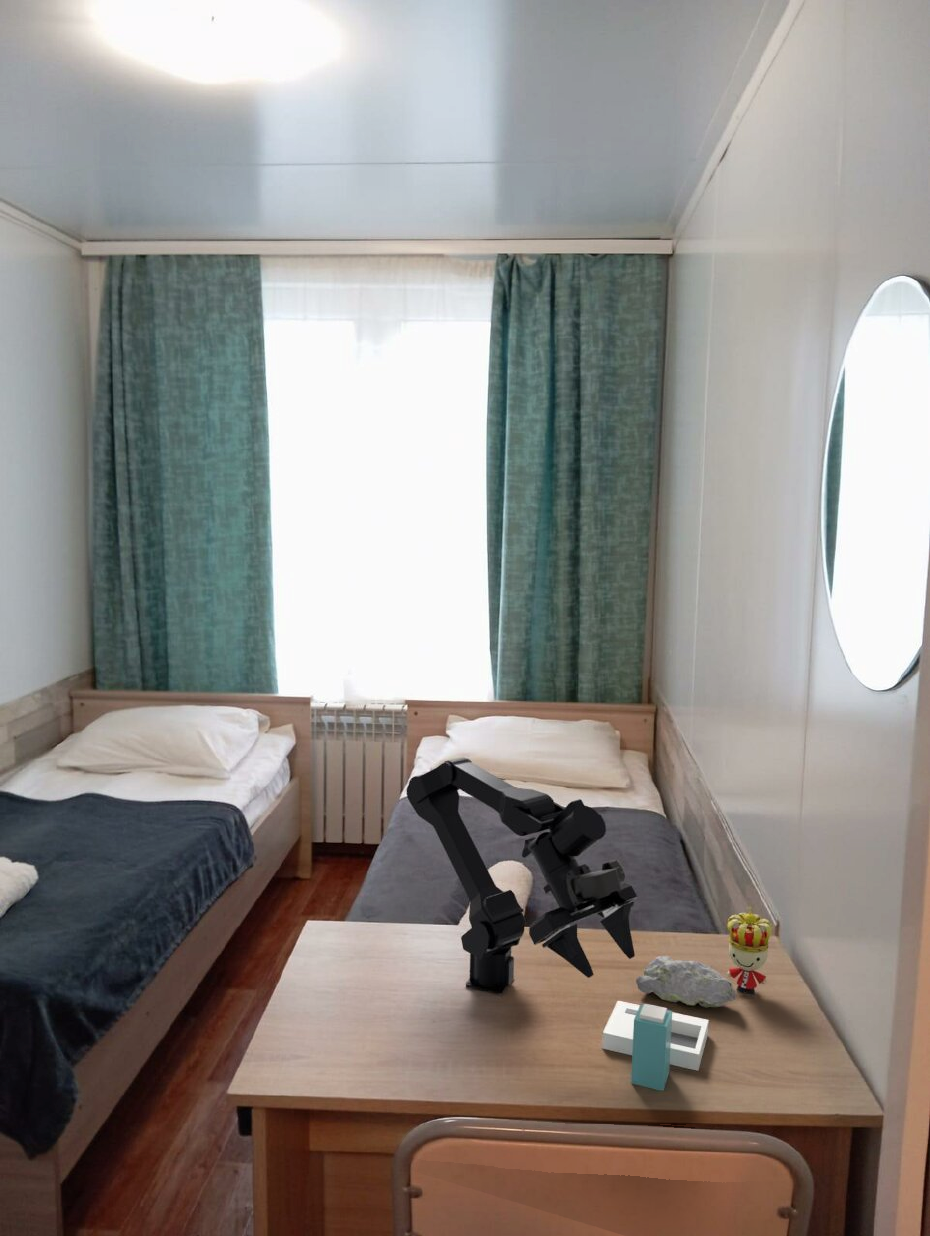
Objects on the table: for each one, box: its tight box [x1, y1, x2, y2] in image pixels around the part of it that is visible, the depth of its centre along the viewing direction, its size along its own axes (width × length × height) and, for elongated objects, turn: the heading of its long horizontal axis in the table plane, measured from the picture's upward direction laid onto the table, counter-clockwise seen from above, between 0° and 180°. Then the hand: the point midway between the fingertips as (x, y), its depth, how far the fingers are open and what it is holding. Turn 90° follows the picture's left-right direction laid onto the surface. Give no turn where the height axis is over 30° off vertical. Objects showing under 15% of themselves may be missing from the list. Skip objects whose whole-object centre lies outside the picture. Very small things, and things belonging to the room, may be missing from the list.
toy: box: [726, 904, 773, 996], centre depth 158 cm, size 7×7×15 cm
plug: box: [630, 1003, 673, 1092], centre depth 133 cm, size 4×4×10 cm
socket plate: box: [601, 1000, 709, 1072], centre depth 143 cm, size 14×10×3 cm
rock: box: [635, 955, 737, 1008], centre depth 156 cm, size 16×7×7 cm, turn 64°
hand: (612, 966), depth 139 cm, fingers open, 9 cm apart
